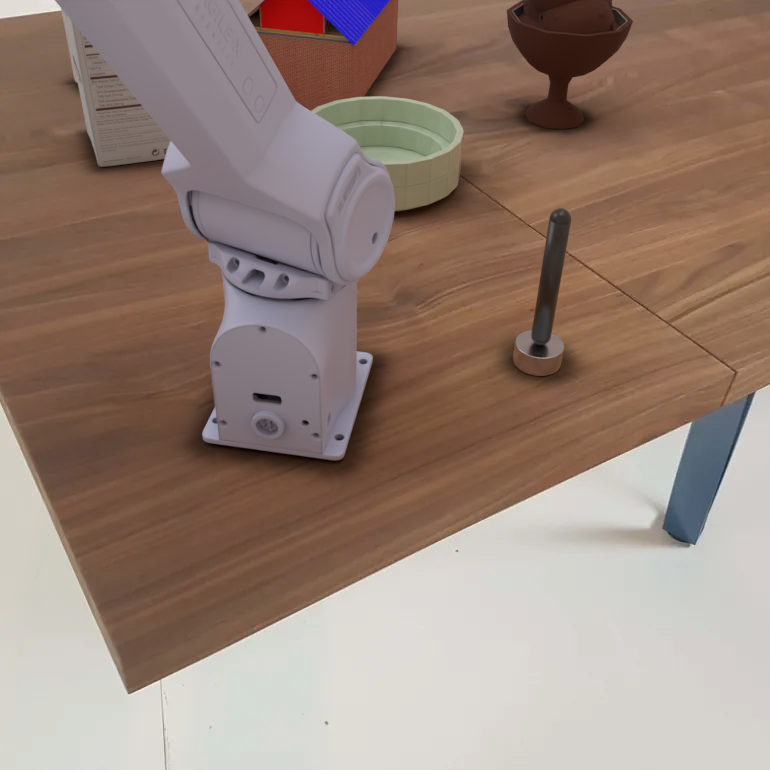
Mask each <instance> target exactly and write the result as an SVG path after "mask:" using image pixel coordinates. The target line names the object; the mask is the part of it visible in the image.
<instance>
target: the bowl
mask: <svg viewBox="0 0 770 770" xmlns="http://www.w3.org/2000/svg"><path fill="white" fill-rule="evenodd" d="M310 111H311V112H313V113H314V114H316V115H318V116H319V117H321V118H323V119H324V120H326V121H328V122H329V123H331V124H332V125H334V126H336V127H337V128H339V129H340V130H342V131H343V132H345V133H347V134H348V135H350V136H351V137H353V138H354V139H355V140H356V141H357V142H358V144H359V146H360V148H361V150H362V152H363V154H364V155H365V156H366V157H367V158H371V159H375V160H378V161H380V162H381V163H383V164H384V166H385V167H386V169H387V171H388V173H389V175H390V179H391V182H392V185H393V188H394V194H395V211H394V213H395V212H403V211H409V210H414V209H417V208H421V207H425V206H428V205H431V204H433V203H435V202H438V201H440V200H442V199H445V198H446V197H448V196H449V195H450V194H451V193H452V192H453V191H454V190H455V189H456V188H457V187H458V185H459V182H460V176H461V170H462V158H463V148H464V147H463V146H464V134H465V130H464V128H463V126H462V124H461V122H460V120H459V119H458V118H456V117H455V116H454V115H453V114H451V113H450V112H448V111H447V110H446V109H443V108H441V107H438V106H436V105H434V104H431V103H428V102H425V101H424V102H423V101H419V100H416V99H411V98H406V97H397V96H396V97H395V96H386V95H385V96H384V95H377V96H376V95H375V96H364V97H355V98H348V99H342V100H336V101H333V102H330V103H327V104H324V105H321V106H318V107H316V108H315V109H313V110H310Z"/></svg>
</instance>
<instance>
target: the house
mask: <svg viewBox="0 0 770 770" xmlns="http://www.w3.org/2000/svg"><path fill="white" fill-rule="evenodd" d="M247 15H248V17H249V19H250V21H251V23H252V24H253V26H254V28H255V30H256V31H257V33H258V35H259V37H260V38H261V40H262V42H263V44H264V46H265V47H266V49H267V51H268V53H269V54H270V56H271V58H272V60H273V61H274V63H275V65H276V67H277V68H278V70H279V72H280V74H281V76H282V77H283V79H284V81H285V83H286V84H287V86H288V88H289V90H290V91H291V93H292V95H293V97H294V99H295V100H296V101H297V102H298V103H299V104H300V105H302V106H303V107H305V108H307V109H308V110H310V111H311V110H313V109H315V108H316V107H318V106H321V105H324V104H327V103H330V102H333V101H336V100H342V99H348V98H355V97H365V95H366V94H367V93H368V91H369V90H370V88H371V86H372V85H373V84H374V82H375V81H376V79H377V78H378V76H379V75H380V74H381V72H382V70H383V69H384V67H385V66H386V65H387V63H388V61H389V60H390V59H391V57H392V56H393V54H394V53H395V51H396V50H397V47H398V45H397V44H398V21H399V20H398V18H399V0H263V1H261V2H260V3H259V4H258V5H257V6H256V7H254V8H253V9H252V10H251V11H250V12H249V13H247Z"/></svg>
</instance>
